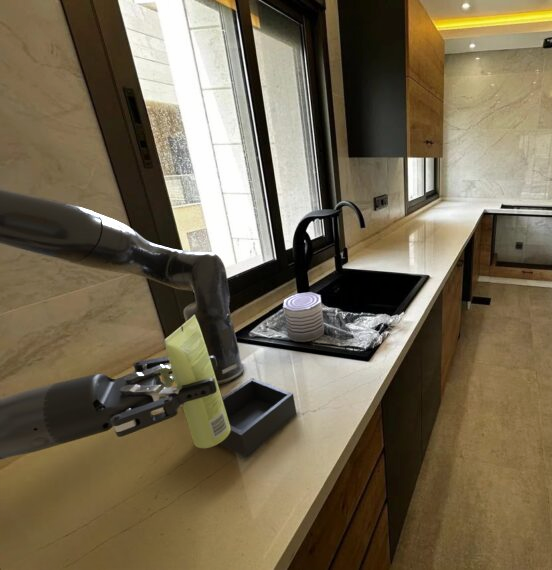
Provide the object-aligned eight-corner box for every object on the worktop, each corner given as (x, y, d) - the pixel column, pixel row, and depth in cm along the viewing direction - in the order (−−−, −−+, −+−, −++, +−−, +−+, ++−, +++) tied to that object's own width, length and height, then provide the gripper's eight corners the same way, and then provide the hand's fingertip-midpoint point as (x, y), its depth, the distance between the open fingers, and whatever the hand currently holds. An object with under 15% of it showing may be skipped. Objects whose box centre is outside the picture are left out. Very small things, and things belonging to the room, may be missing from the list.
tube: (188, 435, 51) (151, 326, 44) (223, 417, 55) (194, 313, 48) (200, 455, 48) (163, 340, 41) (237, 435, 51) (209, 325, 44)
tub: (204, 436, 67) (197, 413, 65) (256, 398, 78) (252, 377, 75) (247, 458, 62) (240, 435, 60) (296, 414, 73) (293, 393, 70)
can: (332, 329, 109) (328, 296, 105) (307, 345, 99) (302, 309, 95) (306, 322, 113) (301, 290, 109) (280, 337, 104) (274, 302, 99)
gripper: (15, 429, 33) (208, 378, 41) (68, 358, 45) (211, 329, 53) (45, 481, 36) (221, 424, 44) (88, 402, 48) (221, 368, 56)
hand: (215, 372), depth 48 cm, fingers closed on tube, 5 cm apart
